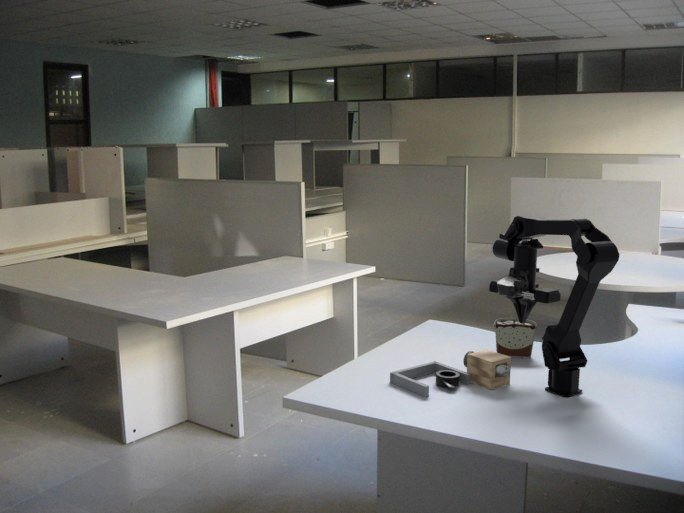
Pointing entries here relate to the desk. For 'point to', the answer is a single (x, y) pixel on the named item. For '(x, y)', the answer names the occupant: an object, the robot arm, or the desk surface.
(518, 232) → the robot arm
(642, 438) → the desk surface
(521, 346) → the food container
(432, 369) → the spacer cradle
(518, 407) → the desk surface
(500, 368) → the shaft
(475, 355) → the bearing block
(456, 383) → the black ring with tabs
